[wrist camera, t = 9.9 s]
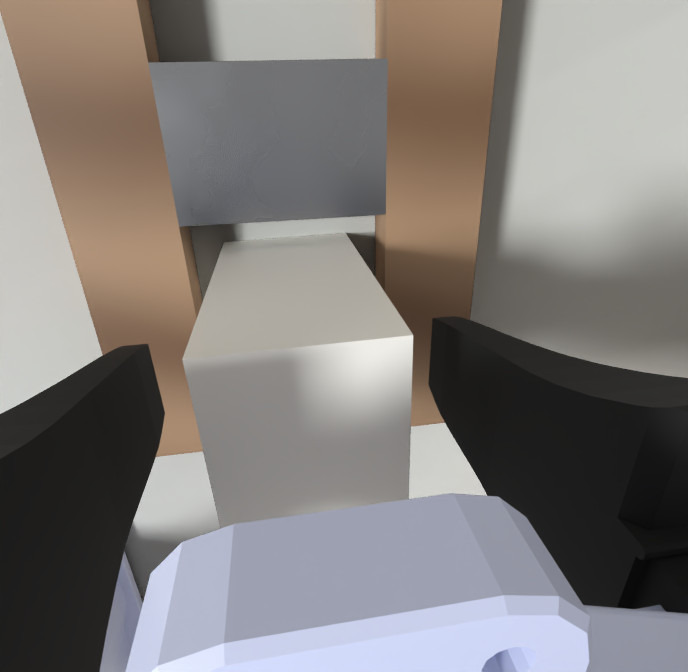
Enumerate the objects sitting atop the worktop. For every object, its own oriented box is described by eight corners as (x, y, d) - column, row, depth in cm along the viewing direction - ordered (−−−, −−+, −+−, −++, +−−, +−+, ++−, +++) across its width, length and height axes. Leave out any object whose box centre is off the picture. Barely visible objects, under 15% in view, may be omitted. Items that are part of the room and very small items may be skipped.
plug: (349, 339, 17) (408, 501, 10) (241, 350, 16) (220, 528, 9) (345, 232, 15) (413, 335, 8) (223, 242, 15) (182, 359, 8)
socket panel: (446, 399, 19) (459, 420, 17) (144, 433, 17) (134, 459, 16) (510, -360, 10) (547, -433, 9) (-92, -420, 9) (-159, -520, 7)
